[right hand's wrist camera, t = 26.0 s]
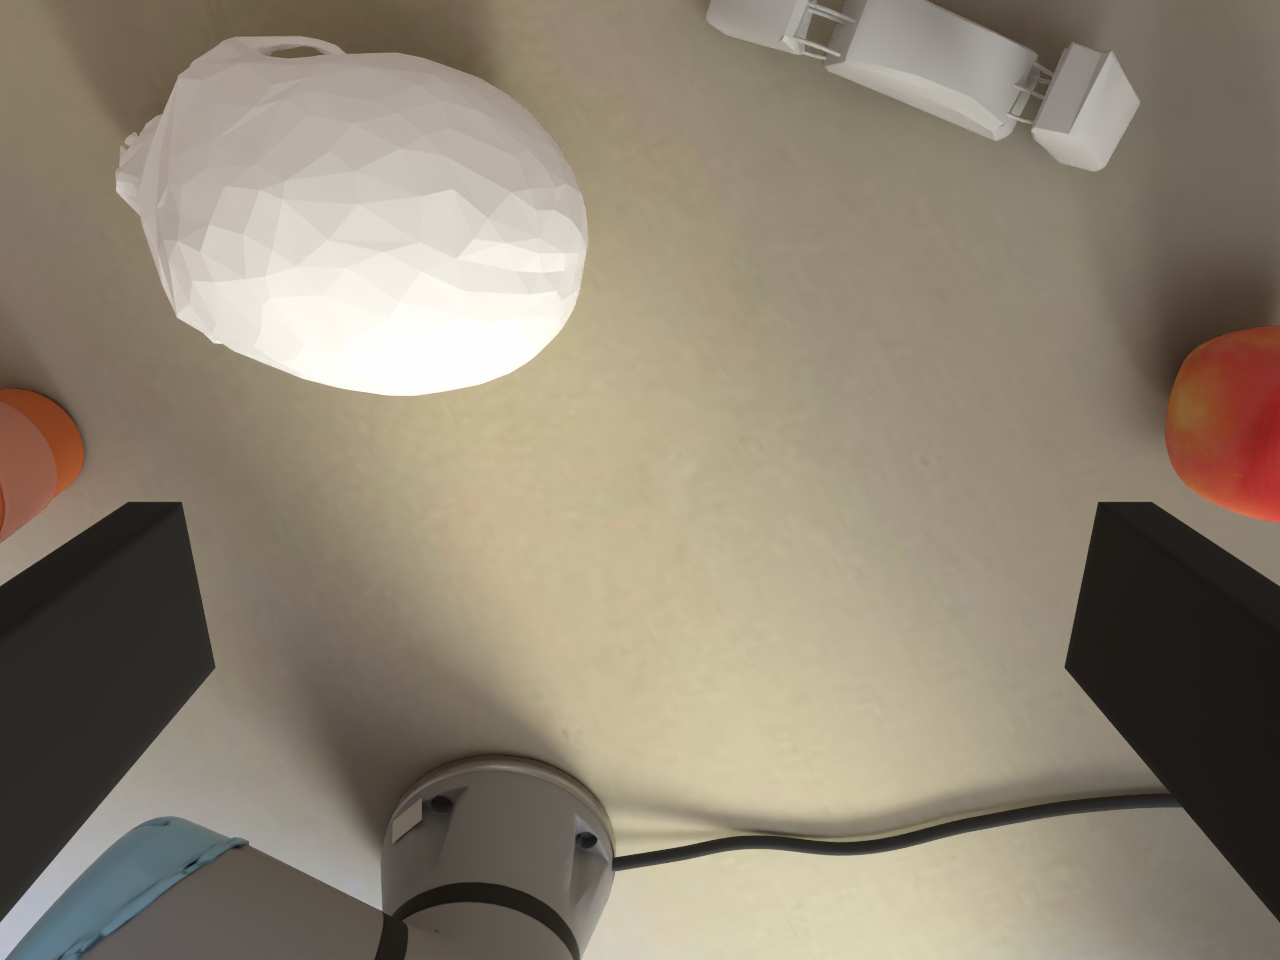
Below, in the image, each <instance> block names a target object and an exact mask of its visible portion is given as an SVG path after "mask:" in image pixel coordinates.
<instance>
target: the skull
mask: <svg viewBox="0 0 1280 960" xmlns="http://www.w3.org/2000/svg"><path fill="white" fill-rule="evenodd" d="M302 46H306V47H313V48H315V49H316V50H318V51H319V52H321V53H322V54H324V55H317V56H311V57H301V58H289V59H287V58H279V57H271V56H270V55H271V54H272V53H273V52H274V51H279V50H285V49H291V48H296V47H302ZM125 144H126V145H127V146H130V147H129V148H128V149H127V150H126V149H125V148H124V147H123V146H120V160H119V169H118V168H116V170H117V171H116V172H115V176H116V192H117V193H118V194H119V195H120V196H121V197H122V198H123V199H124V200H125V201H126V202H127V203H128V204H129V205H130V206H131V207H132V208H133V209H134V210H135V211H136V212H137V213H138V214H139V215H140V216H141V221H142V226H143V229H144V232H145V236H146V239H147V242H148V245H149V248H150V251H151V254H152V256H153V259H154V262H155V265H156V268H157V271H158V274H159V277H160V280H161V282H162V285H163V288H164V290H165V292H166V294H167V297H168V299H169V301H170V303H171V306H172V308H173V310H174V312H175V315H176V317H177V318H178V319H180V320H182V321H184V322H185V323H187V324H189V325H190V326H192V327H194V328H196V329H197V330H199V331H201V332H202V333H203V334H205V335H206V336H207V337H208V338H209V339H210V340H211V341H212V342H213V343H217V344H224V345H225V346H227V347H228V348H230V349H231V350H233V351H235V352H237V353H240V354H242V355H245V356H247V357H250V358H252V359H255V360H257V361H260V362H262V363H265V364H267V365H270V366H272V367H275V368H277V369H280V370H282V371H285V372H287V373H290V374H292V375H295V376H297V377H300V378H302V379H306V380H310V381H314V382H318V383H322V384H326V385H329V386H333V387H338V388H343V389H349V390H355V391H362V392H368V393H375V394H382V395H403V396H416V395H422V394H429V393H436V392H443V391H448V390H453V389H458V388H464V387H469V386H474V385H479V384H482V383H485V382H488V381H490V380H493V379H496V378H498V377H501V376H504V375H507V374H509V373H511V372H512V371H514V370H515V369H517V368H519V367H520V366H522V365H523V364H525V363H527V362H528V361H530V360H531V359H533V358H534V357H535V356H536V355H537V354H538V353H539V352H540V351H541V350H542V349H543V348H544V347H545V346H546V345H547V344H548V343H549V342H550V341H551V340H552V339H553V338H554V337H555V336H556V335H557V334H558V333H559V331H560V330H561V329H562V328H563V326H564V325H565V323H566V321H567V319H568V318H569V316H570V314H571V312H572V311H573V309H574V307H575V304H576V300H577V297H578V294H579V291H580V286H581V280H582V274H583V268H584V262H585V257H586V251H587V246H588V232H587V218H586V209H585V205H584V202H583V198H582V194H581V191H580V189H579V186H578V183H577V180H576V177H575V175H574V173H573V171H572V170H571V168H570V166H569V164H568V163H567V161H566V159H565V157H564V156H563V154H562V152H561V151H560V149H559V148H558V146H557V145H556V143H555V142H554V140H553V139H552V137H551V136H550V134H549V133H548V132H547V131H546V130H545V129H544V128H543V127H542V126H541V125H540V123H539V122H538V121H537V120H536V119H535V118H534V117H533V116H532V115H531V114H530V113H529V112H528V111H527V110H526V109H525V108H524V107H523V106H521V105H520V104H519V103H518V102H517V101H515V100H514V99H513V98H512V97H511V96H509V95H508V94H506V93H504V92H503V91H501V90H499V89H498V88H496V87H494V86H493V85H491V84H489V83H488V82H486V81H484V80H482V79H481V78H479V77H476V76H473V75H471V74H468V73H465V72H462V71H459V70H457V69H454V68H451V67H448V66H445V65H443V64H440V63H437V62H434V61H431V60H428V59H425V58H422V57H416V56H411V55H406V54H401V53H363V54H346V53H345V52H343V51H342V50H341V49H340V48H339V47H338V46H336V45H334V44H331V43H329V42H326V41H323V40H320V39H315V38H309V37H303V36H257V37H233V38H230V39H227V40H224V41H222V42H221V43H219V44H218V45H217V46H216V47H214V48H213V49H211V50H210V51H208V52H207V53H205V54H203V55H202V56H200V57H199V58H197V59H196V60H194V61H193V62H192V63H191V65H190V66H189V68H188V69H186V70H185V71H183V72H182V73H181V74H179V75H178V79H177V81H176V83H175V86H174V88H173V90H172V93H171V95H170V97H169V100H168V102H167V104H166V107H165V109H164V111H163V114H162V115H158V116H156V117H154V118H153V119H152V120H150V121H149V122H148V123H147V124H146V125H145V127H144V128H143V130H142V132H140V135H139V137H138V135H137V134H136V132H134V133H132V134H131V135H129V136H128V137H127V138H126V140H125Z"/></svg>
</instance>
